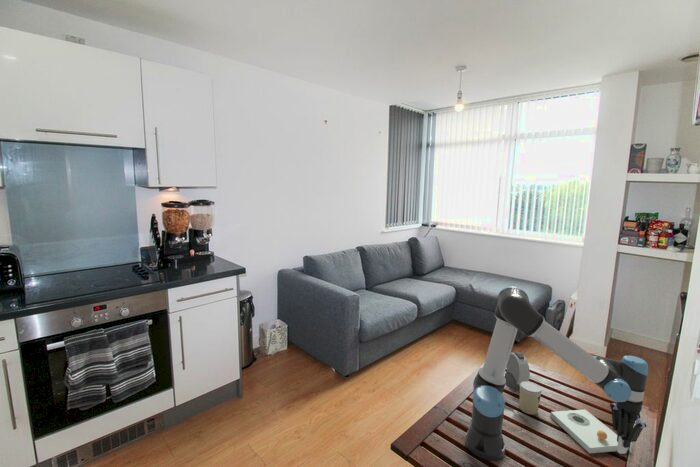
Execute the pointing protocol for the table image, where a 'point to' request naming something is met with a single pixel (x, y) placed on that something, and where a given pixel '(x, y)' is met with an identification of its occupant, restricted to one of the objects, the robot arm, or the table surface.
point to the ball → (602, 435)
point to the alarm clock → (517, 370)
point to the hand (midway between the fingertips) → (621, 452)
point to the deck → (586, 430)
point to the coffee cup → (529, 397)
